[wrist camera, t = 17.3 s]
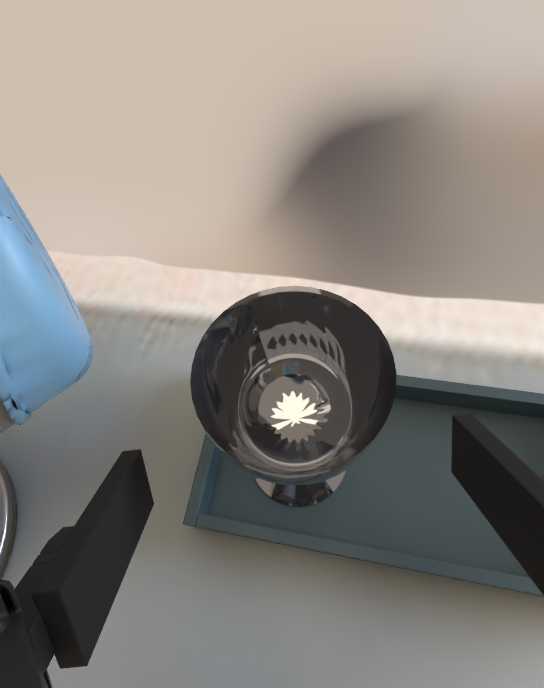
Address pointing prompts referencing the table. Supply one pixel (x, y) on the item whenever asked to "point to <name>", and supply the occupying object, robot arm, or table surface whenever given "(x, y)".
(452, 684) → the table surface
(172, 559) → the table surface
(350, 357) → the wine glass
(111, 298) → the table surface
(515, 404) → the tray
